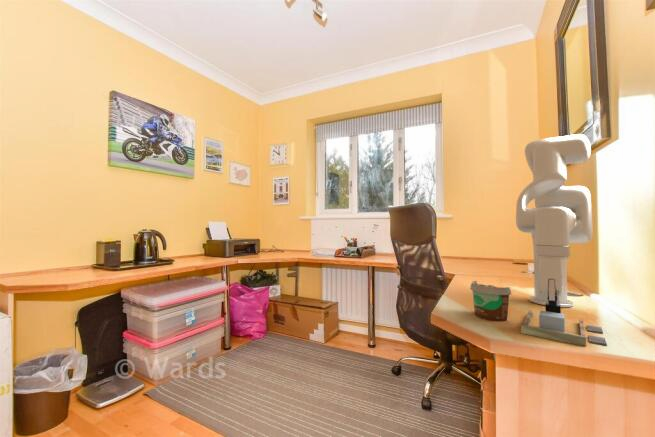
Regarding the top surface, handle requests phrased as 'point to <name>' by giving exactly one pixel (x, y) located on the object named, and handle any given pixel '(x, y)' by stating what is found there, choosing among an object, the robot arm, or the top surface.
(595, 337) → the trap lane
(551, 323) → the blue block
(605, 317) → the top surface
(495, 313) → the food container
